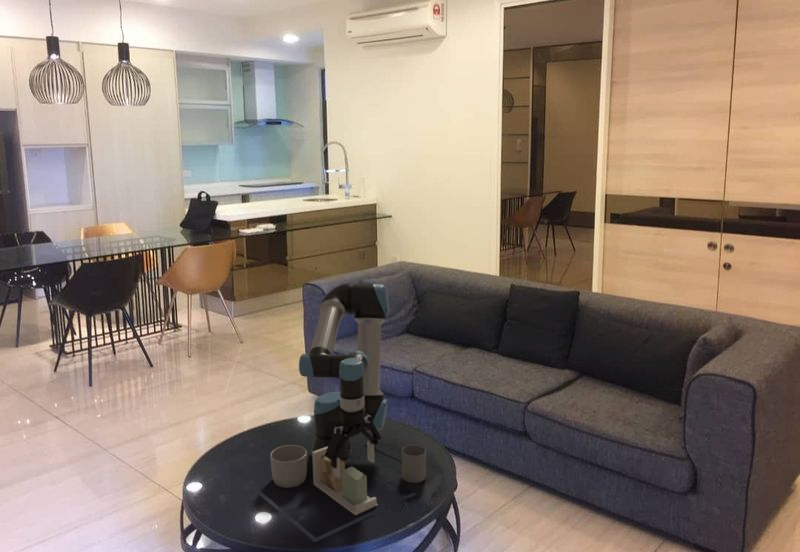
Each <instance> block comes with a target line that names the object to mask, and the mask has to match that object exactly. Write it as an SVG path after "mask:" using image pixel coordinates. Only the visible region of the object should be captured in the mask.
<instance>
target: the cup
mask: <svg viewBox="0 0 800 552" xmlns="http://www.w3.org/2000/svg"><path fill="white" fill-rule="evenodd" d="M426 477H427V449H426V447H424V446H422V445H419V444H408V445H406V446H403V447H402V449H401V478H402V480H403V481H405V482H407V483H411V484H415V483H416V484H417V483H421V482H424V480H426Z"/></svg>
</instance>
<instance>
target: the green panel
mask: <svg viewBox="0 0 800 552" xmlns="http://www.w3.org/2000/svg"><path fill="white" fill-rule="evenodd" d="M367 478H368V475H366V474H365V473H363V472H361V471H360V470H358V469H357V468H355V467H354V466H350V467H347V468H345V469H344V470H342V491H343V498H344V499H346V500H347V501H348V502H350V503H351V504H353V505H354V506H355V505H357V504H359V503H362V502H364V501H366V500H367V496H368V479H367Z"/></svg>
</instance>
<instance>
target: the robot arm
mask: <svg viewBox="0 0 800 552" xmlns="http://www.w3.org/2000/svg"><path fill="white" fill-rule="evenodd" d="M387 289H388V288H387V287H386V285H384V284H381V283H350V282H349V283H348V282H347V283H342V284H340V285H337V286H335V287H333V288H332V289H331V290H330V291H329V292H328V293H327V294H325V295H324V297H323V299H322V300H321V303H320V305H319V310H318V311H319V318H318V322H317V325H316V328H315V332H314V335H313V339H312V342H311V346H310V350H309V352H307V353H302V354H301V355H300V357H299V361H298V371H299V372H298V373H299V374H300V376H302V377H305V378H306V377H307V378H333V379H338V378H339V391H331V392H326V393H323V394H321V395H319V396H318V397H317V398H316V399H315V400H314V405H313V408H314V409H313V414H314V415H313V417H314V438H313V442H312V446H311V449H310V458H311V459H312V460H313V456H312V452H313V451H316V450H319V449H322V448H324V447H327V446H328V448H327V450H326V453H325V456H326V457H327V458H329V459H330V460H331V466H332V467H333V474H334V475H335V476H336V477H338V478H339V477H340V459H341V460H343V461H344V460H345V459H347V458H349V457H350V456H351V454H352V445H351V442H350V438H352V437H354V436H357V435H359V434H362V435H363V436H364V437H365V438H366V439H367V440H368V441H367V442H366V444H367V445H366V448H367V451H366V452H367V453H366V454H367V461H369V462H370V463H371V464H374V463H375V452H377V451H376V450H377V447H376V445H377V444H378V443H379V441H378V440H381V439H382V438H381V435H380V433H379V431H382V430H383V429H384V426H385V422H386V418H387V417H386V416H387V411H388V399H387V398H384V397H385V394H384V392H382V391H381V388H380V385H381V379H380V378H381V350H382V349H381V339H382V324H383V323H384V322H385V321H386V316H389V315H390V302H389V301H390V300H389V293H388V290H387ZM346 315H353V316H354V318H353V320H354V321H355V323H357V348H356V349H357V350H354V351H352V352H350V353H349V354H333V353H334V349H335V346H336V345H335V344H336V341H337V336H338V333H339V329H340V325H341V320H342V319H344V317H345V316H346ZM369 432H371V434H372V435H371V434H370V433H369Z"/></svg>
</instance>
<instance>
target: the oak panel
mask: <svg viewBox="0 0 800 552" xmlns="http://www.w3.org/2000/svg"><path fill="white" fill-rule="evenodd" d="M321 464H322V483H324V484H325V485H326V486H328V487H329V488H330V489H332V490H333V491H335V492H336V493H337V492H340V491H342V470H344V469H346V462H345V460H344V459H343V460H341V459H340V477H339V478H338V477H336V476H335V475H334V474H333V467H332V466H331V460H330V459H329V458H327V457H326V456H325V455H324V456H322V457H321Z"/></svg>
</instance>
